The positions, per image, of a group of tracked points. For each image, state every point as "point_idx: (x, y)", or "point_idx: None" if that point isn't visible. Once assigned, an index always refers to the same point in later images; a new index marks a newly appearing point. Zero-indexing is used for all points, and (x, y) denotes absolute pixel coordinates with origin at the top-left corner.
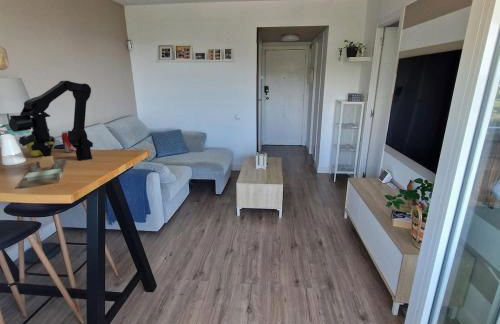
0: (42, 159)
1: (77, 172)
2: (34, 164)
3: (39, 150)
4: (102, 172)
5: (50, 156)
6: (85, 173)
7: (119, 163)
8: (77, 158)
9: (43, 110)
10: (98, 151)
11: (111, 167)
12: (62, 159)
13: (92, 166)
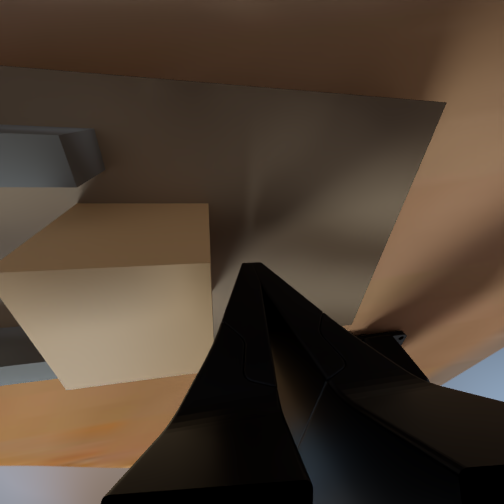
0: (21, 314)
1: (52, 381)
2: (5, 154)
3: (144, 455)
4: (22, 451)
5: (181, 364)
6: (17, 411)
7: None
8: (364, 341)
9: None
10: (447, 369)
11: (108, 453)
12: (335, 312)
13: (164, 404)
